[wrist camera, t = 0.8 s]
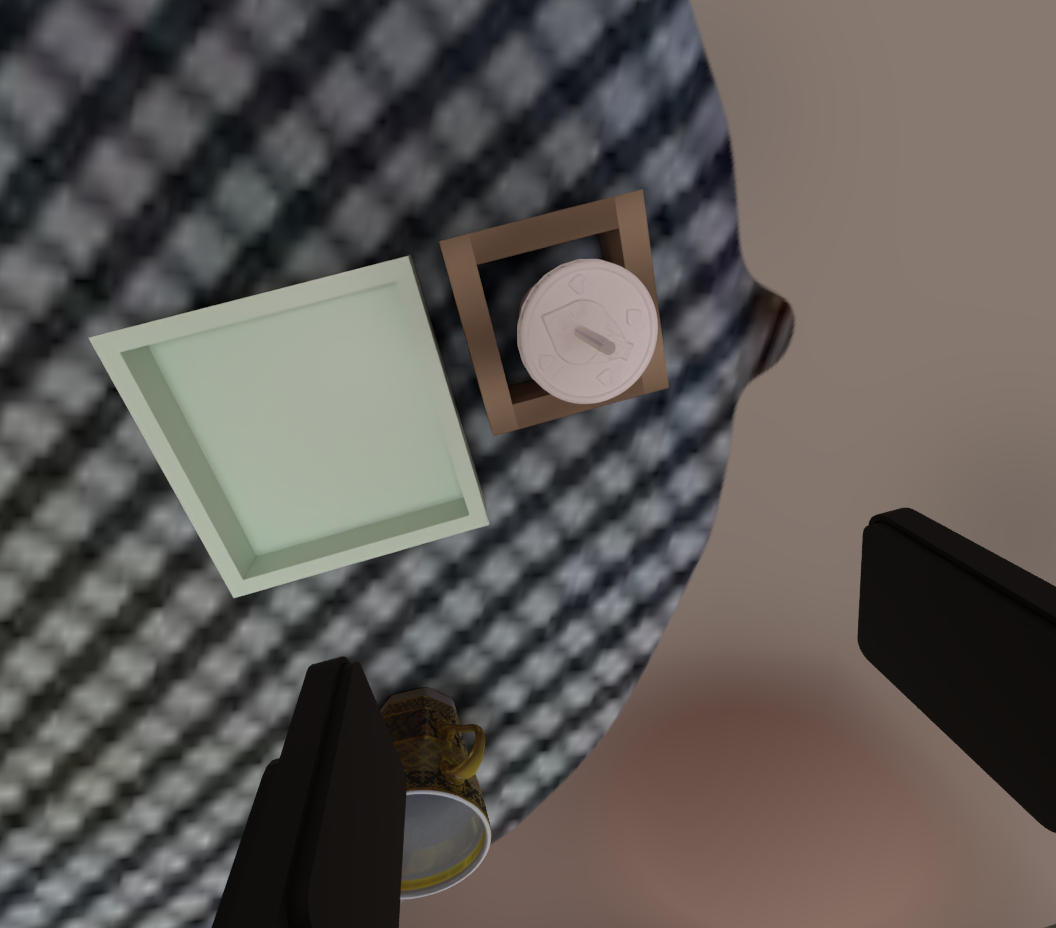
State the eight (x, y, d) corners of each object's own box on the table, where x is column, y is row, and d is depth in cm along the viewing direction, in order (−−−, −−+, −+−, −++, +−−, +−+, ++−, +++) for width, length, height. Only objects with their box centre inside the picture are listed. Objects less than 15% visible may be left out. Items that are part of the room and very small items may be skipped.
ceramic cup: (435, 780, 46) (435, 914, 36) (326, 741, 42) (296, 878, 33) (525, 673, 43) (550, 789, 34) (417, 621, 40) (411, 735, 30)
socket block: (438, 242, 30) (439, 240, 27) (618, 196, 31) (642, 189, 27) (487, 416, 35) (493, 436, 31) (644, 372, 35) (668, 387, 32)
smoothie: (519, 237, 31) (579, 230, 18) (617, 281, 33) (734, 302, 20) (481, 343, 33) (510, 404, 20) (575, 379, 35) (657, 456, 22)
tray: (126, 328, 30) (88, 337, 26) (411, 255, 30) (408, 255, 27) (251, 566, 36) (233, 598, 33) (484, 500, 37) (489, 524, 34)
